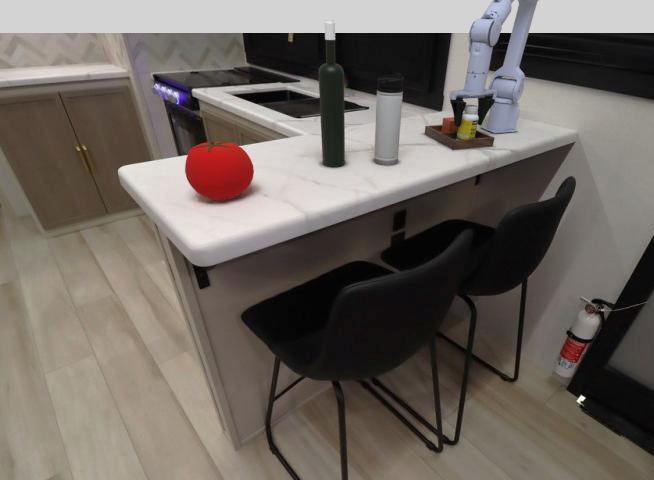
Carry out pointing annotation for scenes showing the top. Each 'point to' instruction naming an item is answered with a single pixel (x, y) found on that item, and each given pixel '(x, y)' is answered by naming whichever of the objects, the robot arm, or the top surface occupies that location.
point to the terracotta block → (448, 125)
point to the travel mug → (388, 118)
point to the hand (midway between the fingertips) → (468, 125)
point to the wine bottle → (332, 104)
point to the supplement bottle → (468, 123)
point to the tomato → (219, 170)
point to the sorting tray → (452, 143)
